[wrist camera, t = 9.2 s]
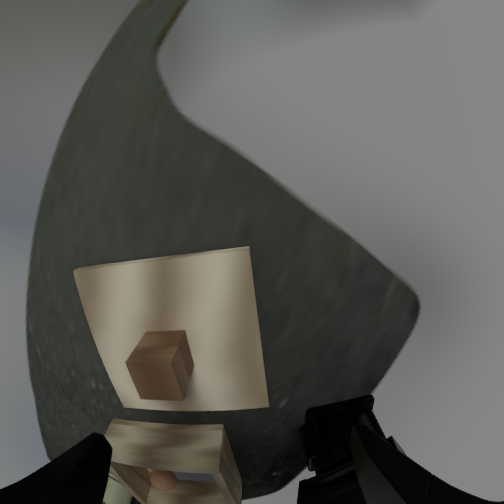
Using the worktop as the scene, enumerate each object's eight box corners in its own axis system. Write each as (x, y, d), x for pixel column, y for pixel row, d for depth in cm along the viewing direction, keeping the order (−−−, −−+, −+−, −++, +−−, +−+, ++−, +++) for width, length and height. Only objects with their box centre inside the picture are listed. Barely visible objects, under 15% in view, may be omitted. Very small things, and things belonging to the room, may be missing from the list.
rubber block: (210, 439, 21) (206, 462, 18) (218, 459, 22) (216, 481, 19) (171, 438, 21) (165, 460, 18) (182, 458, 22) (177, 479, 19)
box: (222, 424, 22) (218, 469, 16) (241, 479, 24) (241, 514, 19) (113, 418, 22) (95, 453, 16) (151, 474, 24) (142, 505, 19)
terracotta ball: (174, 464, 22) (169, 484, 19) (182, 476, 23) (178, 496, 20) (148, 461, 22) (142, 480, 19) (158, 474, 23) (153, 492, 20)
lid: (249, 243, 18) (249, 267, 13) (267, 393, 21) (272, 443, 15) (85, 264, 18) (40, 288, 13) (130, 395, 21) (109, 436, 16)
